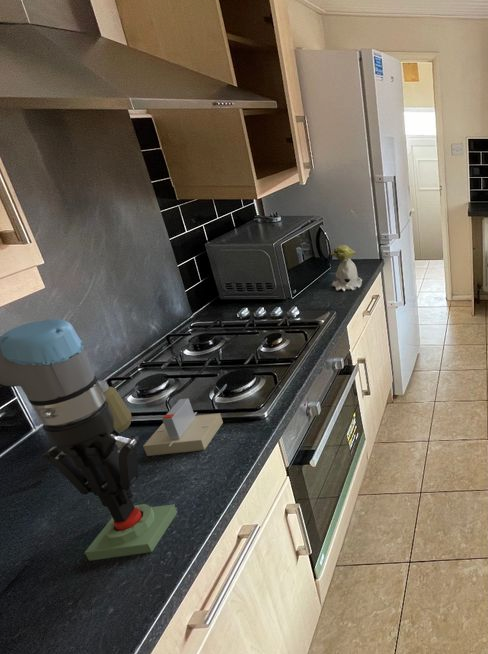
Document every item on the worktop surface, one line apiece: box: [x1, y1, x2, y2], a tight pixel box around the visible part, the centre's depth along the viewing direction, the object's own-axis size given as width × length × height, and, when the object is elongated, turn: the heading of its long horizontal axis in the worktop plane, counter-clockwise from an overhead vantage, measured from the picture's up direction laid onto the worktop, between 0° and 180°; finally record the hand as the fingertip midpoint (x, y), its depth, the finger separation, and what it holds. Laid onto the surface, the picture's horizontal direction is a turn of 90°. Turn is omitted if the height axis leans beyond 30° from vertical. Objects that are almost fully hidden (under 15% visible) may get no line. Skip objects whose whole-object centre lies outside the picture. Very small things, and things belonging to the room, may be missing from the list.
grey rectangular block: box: [162, 397, 196, 440], centre depth 97 cm, size 7×2×6 cm, turn 10°
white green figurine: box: [330, 244, 363, 292], centre depth 180 cm, size 12×13×18 cm
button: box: [113, 507, 142, 531], centre depth 76 cm, size 4×4×2 cm
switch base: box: [143, 411, 224, 457], centre depth 99 cm, size 12×11×3 cm
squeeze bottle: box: [98, 379, 132, 434], centre depth 97 cm, size 8×8×18 cm
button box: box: [84, 503, 178, 562], centre depth 77 cm, size 10×8×4 cm
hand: (125, 515), depth 75 cm, fingers closed
